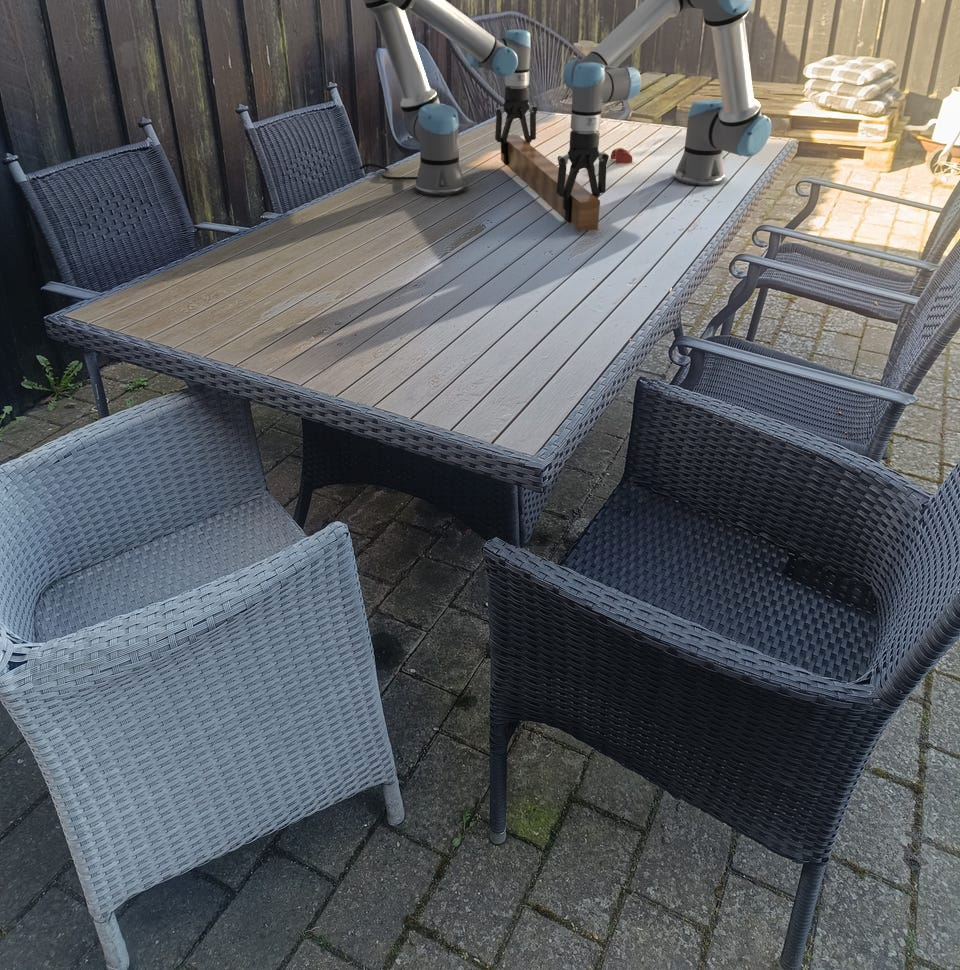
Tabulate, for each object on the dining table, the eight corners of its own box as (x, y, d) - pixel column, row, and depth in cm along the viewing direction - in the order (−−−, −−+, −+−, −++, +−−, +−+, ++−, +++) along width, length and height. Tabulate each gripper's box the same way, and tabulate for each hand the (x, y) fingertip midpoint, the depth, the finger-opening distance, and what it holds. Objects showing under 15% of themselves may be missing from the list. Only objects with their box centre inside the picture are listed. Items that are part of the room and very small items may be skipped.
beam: (500, 160, 281) (501, 135, 276) (517, 158, 282) (517, 134, 277) (578, 231, 224) (580, 202, 219) (597, 229, 225) (600, 200, 220)
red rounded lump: (625, 144, 285) (634, 150, 279) (624, 157, 288) (633, 163, 282) (609, 146, 284) (618, 152, 278) (609, 159, 287) (617, 165, 281)
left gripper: (491, 90, 257) (490, 168, 271) (549, 87, 261) (545, 164, 275) (484, 85, 263) (484, 162, 276) (541, 82, 267) (538, 158, 280)
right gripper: (555, 136, 211) (551, 227, 224) (624, 131, 215) (616, 221, 228) (545, 129, 217) (542, 219, 230) (613, 124, 221) (605, 213, 234)
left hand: (514, 163), depth 275 cm, fingers closed on beam, 6 cm apart
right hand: (579, 220), depth 229 cm, fingers closed on beam, 6 cm apart
